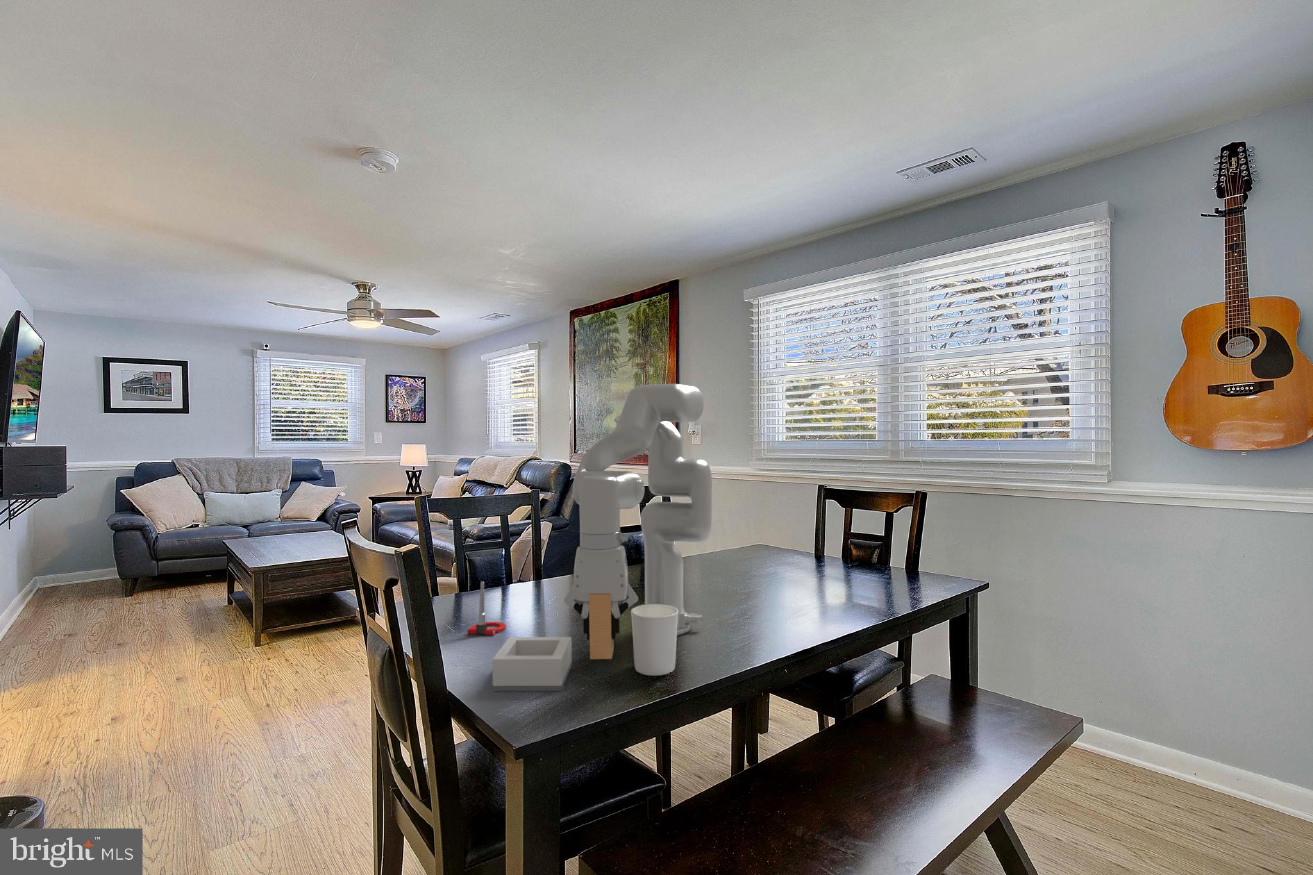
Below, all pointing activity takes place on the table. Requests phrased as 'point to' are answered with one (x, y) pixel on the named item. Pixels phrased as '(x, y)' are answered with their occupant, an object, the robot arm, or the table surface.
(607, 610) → the wooden square beam
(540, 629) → the table surface
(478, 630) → the tow hook
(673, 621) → the candle holder
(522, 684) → the well
